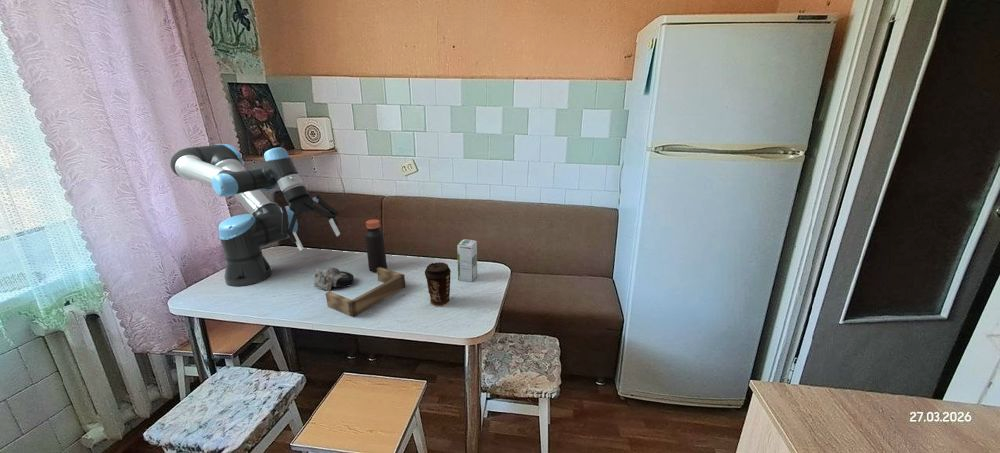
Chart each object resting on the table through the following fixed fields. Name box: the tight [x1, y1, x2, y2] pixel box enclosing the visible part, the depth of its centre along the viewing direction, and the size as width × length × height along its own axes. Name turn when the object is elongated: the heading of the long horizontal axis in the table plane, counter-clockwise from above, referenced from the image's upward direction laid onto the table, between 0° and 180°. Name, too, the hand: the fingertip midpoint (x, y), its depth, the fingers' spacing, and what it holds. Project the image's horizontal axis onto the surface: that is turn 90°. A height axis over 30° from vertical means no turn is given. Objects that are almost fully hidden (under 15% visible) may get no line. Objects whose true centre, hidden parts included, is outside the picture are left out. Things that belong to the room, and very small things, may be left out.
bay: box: [325, 267, 407, 318], centre depth 135 cm, size 12×23×5 cm, turn 149°
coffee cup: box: [424, 261, 451, 308], centre depth 130 cm, size 9×8×13 cm
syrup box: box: [456, 239, 478, 283], centre depth 146 cm, size 6×6×14 cm
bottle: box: [364, 219, 388, 274], centre depth 153 cm, size 7×7×20 cm
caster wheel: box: [313, 267, 355, 292], centre depth 143 cm, size 7×11×10 cm
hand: (320, 242), depth 142 cm, fingers open, 13 cm apart
